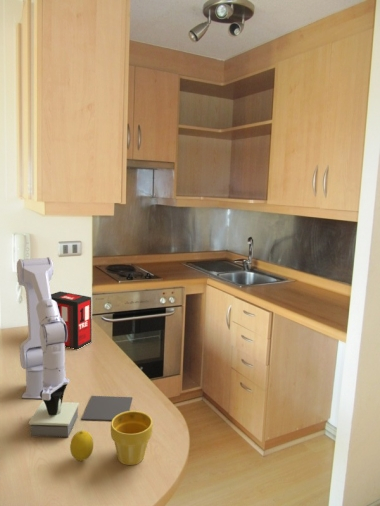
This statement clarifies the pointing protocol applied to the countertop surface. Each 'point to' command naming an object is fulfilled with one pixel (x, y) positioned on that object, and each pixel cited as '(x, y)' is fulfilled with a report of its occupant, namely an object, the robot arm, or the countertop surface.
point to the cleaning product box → (75, 317)
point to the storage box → (53, 429)
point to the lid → (61, 418)
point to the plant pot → (131, 435)
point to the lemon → (81, 445)
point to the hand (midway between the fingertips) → (54, 410)
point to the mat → (106, 407)
